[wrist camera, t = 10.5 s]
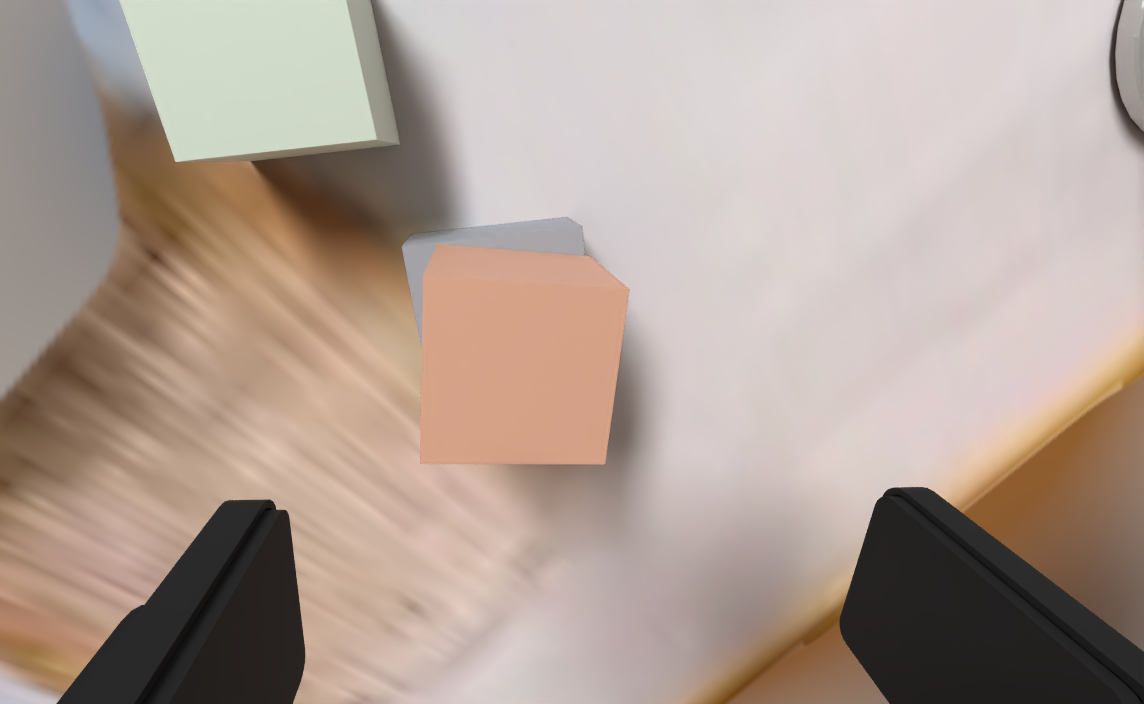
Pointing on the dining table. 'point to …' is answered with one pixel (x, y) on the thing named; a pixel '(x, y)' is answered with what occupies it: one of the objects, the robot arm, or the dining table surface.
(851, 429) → the dining table surface
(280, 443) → the dining table surface
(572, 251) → the slate-grey block
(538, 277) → the terracotta cube
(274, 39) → the sage cube
